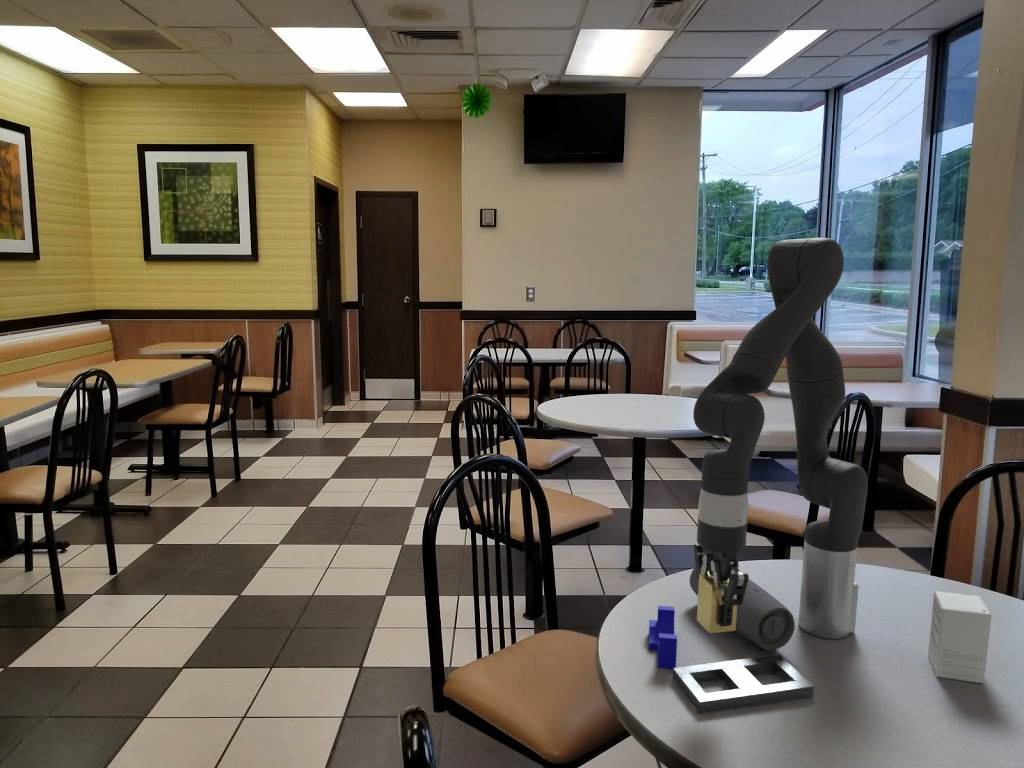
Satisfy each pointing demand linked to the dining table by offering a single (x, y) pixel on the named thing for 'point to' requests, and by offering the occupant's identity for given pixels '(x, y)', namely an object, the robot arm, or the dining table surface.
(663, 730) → the dining table surface
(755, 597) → the bluetooth speaker
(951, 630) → the supplement box
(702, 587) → the tan rectangular block
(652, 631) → the cable clip
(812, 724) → the dining table surface
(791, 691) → the grey flat frame
